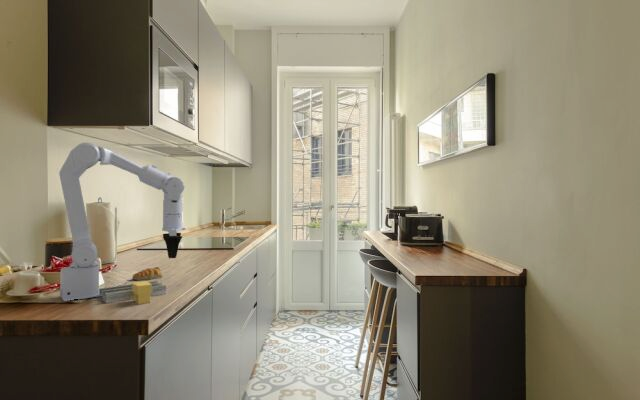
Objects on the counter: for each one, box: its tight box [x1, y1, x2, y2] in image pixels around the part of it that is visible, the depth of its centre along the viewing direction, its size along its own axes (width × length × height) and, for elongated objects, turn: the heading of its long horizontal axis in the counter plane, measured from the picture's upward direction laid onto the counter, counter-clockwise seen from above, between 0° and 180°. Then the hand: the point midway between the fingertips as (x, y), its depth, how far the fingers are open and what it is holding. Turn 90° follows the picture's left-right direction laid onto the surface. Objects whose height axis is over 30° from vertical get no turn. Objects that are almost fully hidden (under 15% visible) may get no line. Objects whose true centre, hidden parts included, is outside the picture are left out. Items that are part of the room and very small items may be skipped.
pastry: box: [132, 266, 163, 282], centre depth 134 cm, size 9×7×4 cm
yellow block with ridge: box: [131, 280, 152, 305], centre depth 105 cm, size 4×5×5 cm
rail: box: [99, 280, 167, 304], centre depth 111 cm, size 16×8×2 cm, turn 131°
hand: (172, 256), depth 122 cm, fingers open, 7 cm apart
